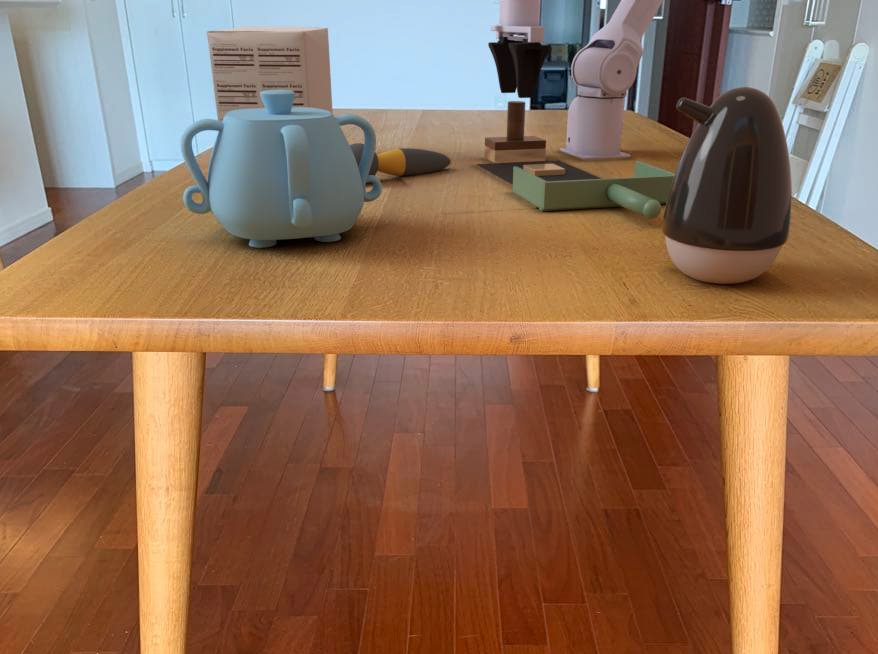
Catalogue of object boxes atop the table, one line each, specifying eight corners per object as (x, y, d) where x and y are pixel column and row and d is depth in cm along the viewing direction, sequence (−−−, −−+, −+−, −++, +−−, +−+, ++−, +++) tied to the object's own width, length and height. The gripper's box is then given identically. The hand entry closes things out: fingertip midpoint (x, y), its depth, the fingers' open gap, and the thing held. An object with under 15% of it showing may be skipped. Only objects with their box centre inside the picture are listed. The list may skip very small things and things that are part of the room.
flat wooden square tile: (522, 170, 113) (523, 164, 113) (552, 169, 114) (553, 163, 114) (534, 176, 109) (534, 170, 109) (565, 174, 110) (565, 168, 110)
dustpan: (512, 193, 100) (513, 166, 99) (636, 187, 104) (638, 160, 103) (579, 233, 82) (581, 201, 81) (725, 223, 87) (729, 192, 85)
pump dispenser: (640, 259, 74) (660, 81, 67) (751, 258, 75) (781, 81, 68) (675, 294, 65) (701, 92, 58) (800, 293, 65) (841, 92, 59)
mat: (476, 166, 118) (476, 164, 118) (558, 162, 121) (559, 160, 121) (518, 190, 102) (518, 187, 102) (611, 185, 106) (612, 182, 105)
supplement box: (253, 152, 127) (240, 26, 120) (337, 153, 127) (329, 27, 119) (220, 172, 112) (202, 28, 104) (315, 173, 112) (305, 29, 104)
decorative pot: (170, 240, 79) (147, 92, 73) (283, 208, 92) (271, 80, 86) (296, 265, 72) (281, 103, 66) (400, 227, 84) (396, 87, 78)
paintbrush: (432, 166, 117) (432, 130, 115) (456, 171, 114) (456, 134, 111) (319, 185, 104) (316, 144, 102) (342, 190, 101) (339, 149, 99)
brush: (484, 159, 123) (485, 100, 120) (533, 157, 125) (535, 99, 122) (494, 164, 119) (496, 104, 115) (545, 162, 121) (548, 103, 117)
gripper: (477, -9, 117) (475, 91, 123) (510, -11, 105) (507, 100, 111) (523, -8, 119) (519, 90, 125) (561, -10, 107) (555, 99, 112)
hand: (516, 95), depth 118 cm, fingers open, 7 cm apart
